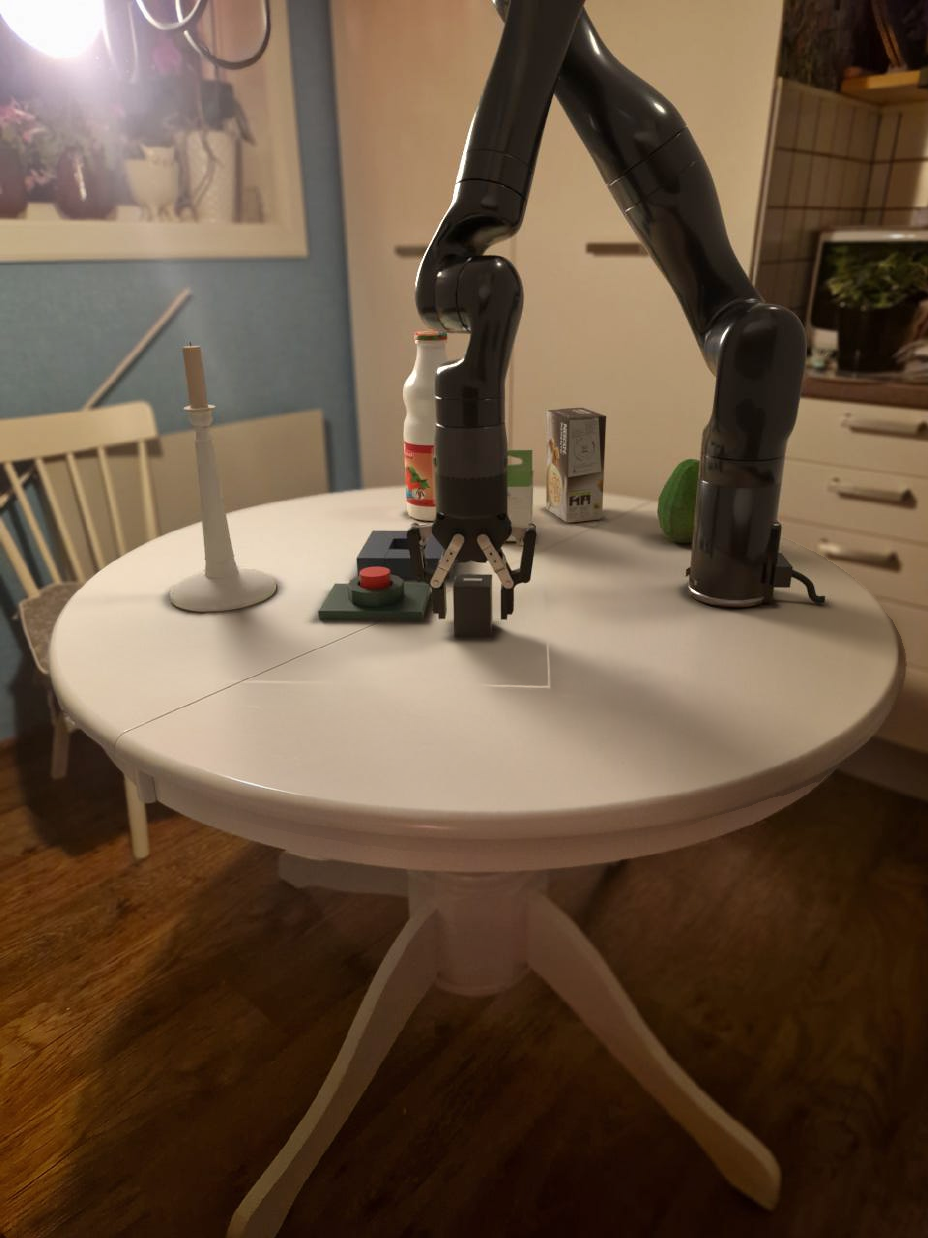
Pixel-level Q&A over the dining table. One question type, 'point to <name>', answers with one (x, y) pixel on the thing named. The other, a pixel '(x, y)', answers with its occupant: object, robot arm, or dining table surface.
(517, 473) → the ink box
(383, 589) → the red push button plate
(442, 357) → the fruit juice
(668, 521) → the avocado
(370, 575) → the power button
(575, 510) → the coffee box
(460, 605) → the block
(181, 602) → the candlestick
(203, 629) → the dining table surface
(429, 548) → the square socket block
